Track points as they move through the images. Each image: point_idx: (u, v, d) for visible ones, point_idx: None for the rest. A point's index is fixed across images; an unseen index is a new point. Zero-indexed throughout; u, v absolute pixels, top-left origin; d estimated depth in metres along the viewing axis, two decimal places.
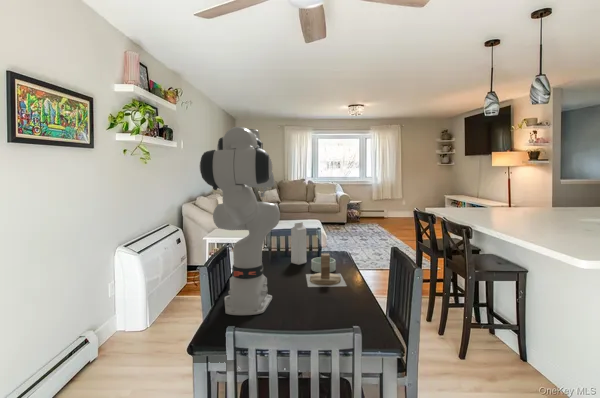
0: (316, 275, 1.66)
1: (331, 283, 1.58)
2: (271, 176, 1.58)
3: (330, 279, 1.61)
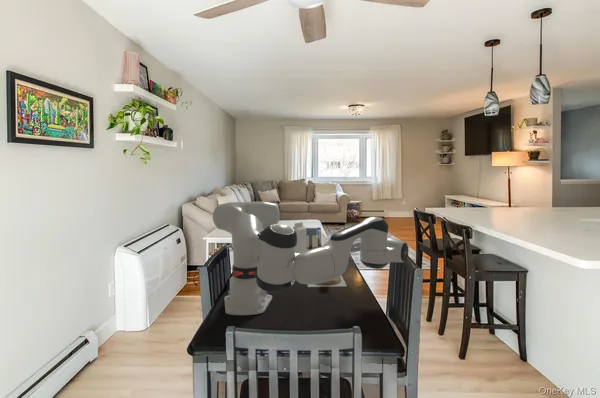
0: None
1: (331, 283, 1.58)
2: None
3: None
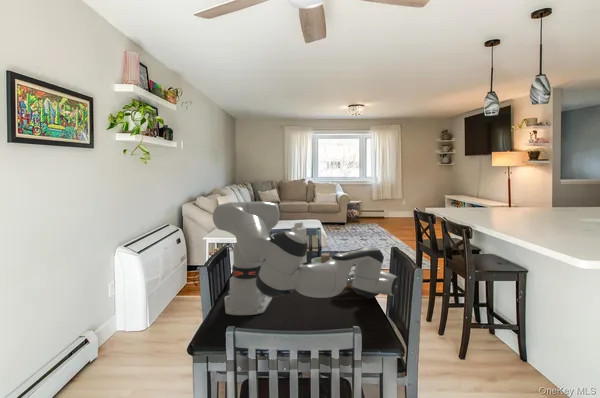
0: None
1: None
2: None
3: None
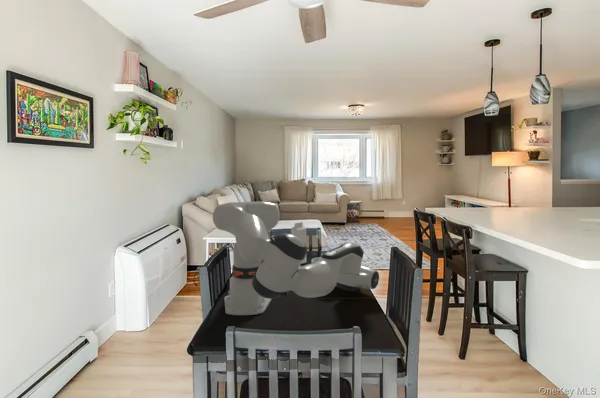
0: None
1: None
2: None
3: None
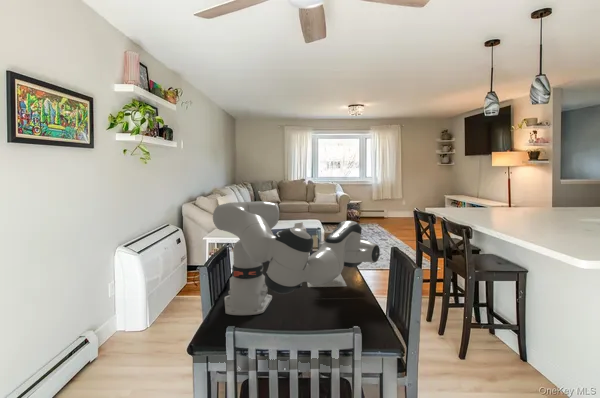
0: None
1: None
2: None
3: None
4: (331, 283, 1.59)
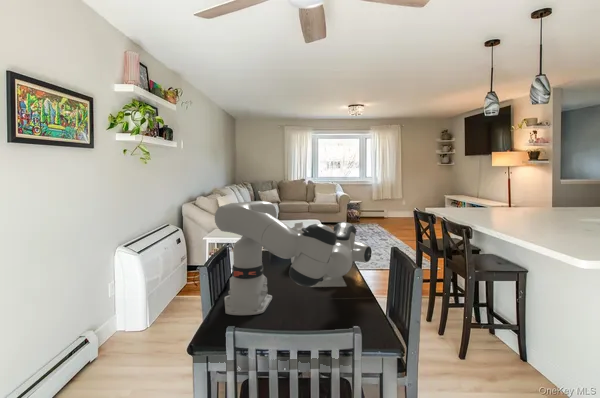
0: None
1: None
2: None
3: None
4: (331, 283, 1.59)
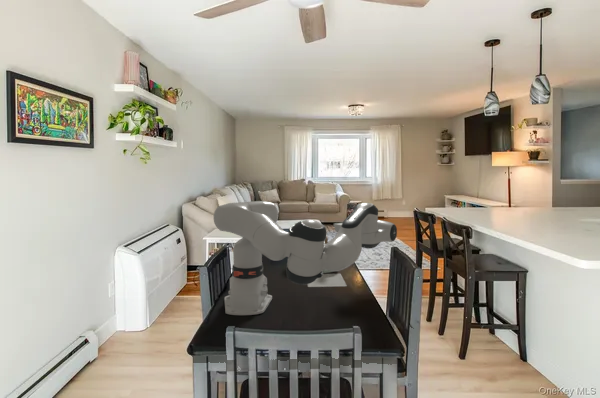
0: None
1: None
2: None
3: None
4: (331, 283, 1.59)
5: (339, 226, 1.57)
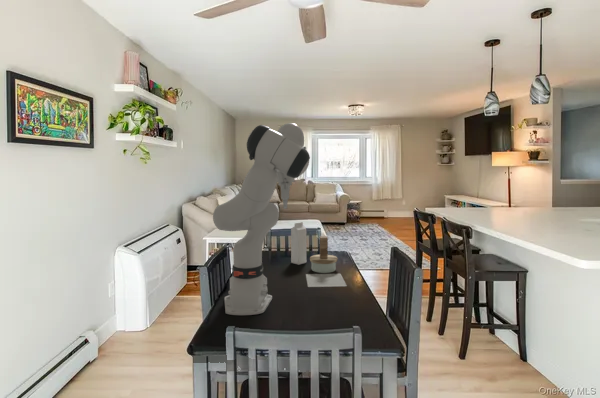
0: (315, 256, 1.83)
1: (329, 262, 1.74)
2: (289, 186, 1.77)
3: (328, 259, 1.78)
4: (331, 283, 1.59)
5: (283, 192, 1.59)
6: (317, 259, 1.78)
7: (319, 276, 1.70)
